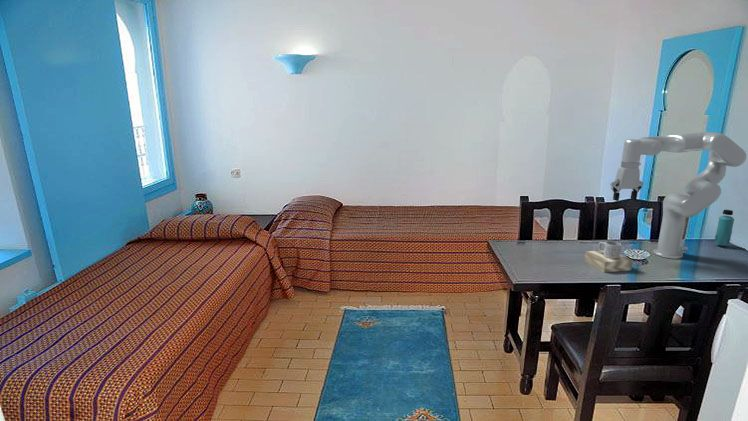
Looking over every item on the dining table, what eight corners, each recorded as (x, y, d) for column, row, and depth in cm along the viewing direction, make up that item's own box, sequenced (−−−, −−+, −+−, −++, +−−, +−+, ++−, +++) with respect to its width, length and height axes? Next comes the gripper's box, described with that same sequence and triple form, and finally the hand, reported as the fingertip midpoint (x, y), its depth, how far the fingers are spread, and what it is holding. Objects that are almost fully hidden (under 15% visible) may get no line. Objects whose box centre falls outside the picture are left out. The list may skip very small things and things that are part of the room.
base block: (610, 259, 212) (611, 249, 211) (631, 270, 199) (632, 260, 198) (584, 261, 210) (585, 251, 209) (603, 272, 197) (605, 262, 196)
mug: (622, 257, 201) (624, 244, 199) (614, 260, 198) (616, 246, 196) (601, 251, 209) (603, 238, 207) (593, 253, 206) (595, 240, 204)
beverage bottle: (731, 248, 227) (740, 211, 222) (719, 248, 227) (727, 211, 222) (722, 244, 234) (730, 208, 228) (709, 244, 234) (717, 208, 229)
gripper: (639, 163, 213) (634, 197, 217) (608, 164, 210) (603, 198, 214) (651, 166, 206) (646, 201, 210) (619, 167, 203) (614, 202, 207)
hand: (624, 199), depth 212 cm, fingers open, 9 cm apart
